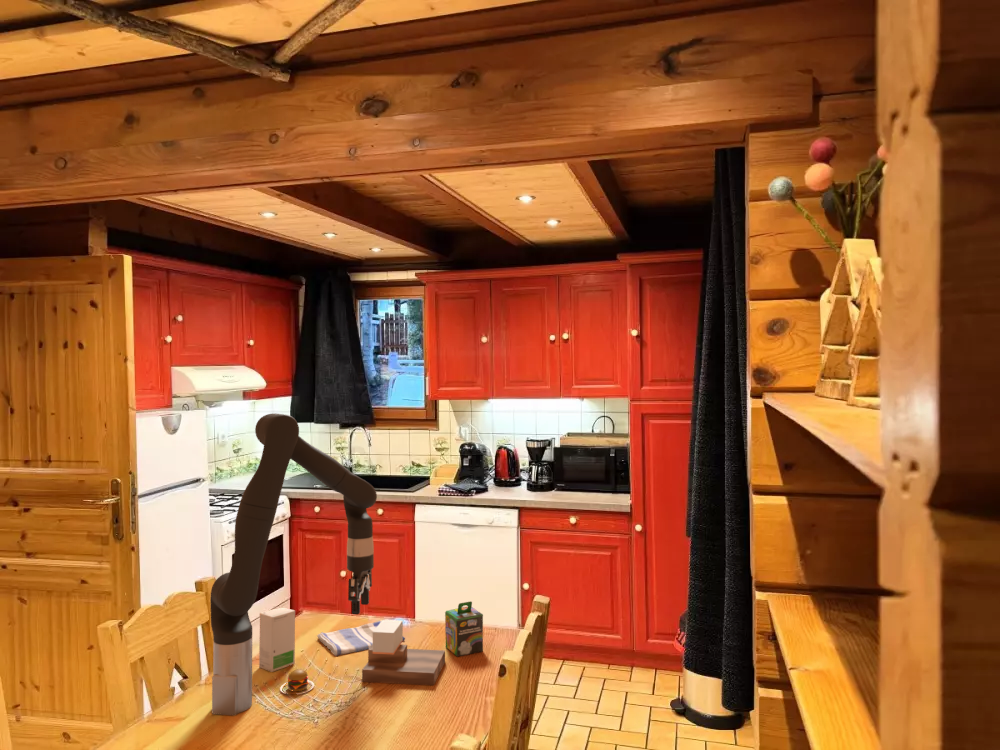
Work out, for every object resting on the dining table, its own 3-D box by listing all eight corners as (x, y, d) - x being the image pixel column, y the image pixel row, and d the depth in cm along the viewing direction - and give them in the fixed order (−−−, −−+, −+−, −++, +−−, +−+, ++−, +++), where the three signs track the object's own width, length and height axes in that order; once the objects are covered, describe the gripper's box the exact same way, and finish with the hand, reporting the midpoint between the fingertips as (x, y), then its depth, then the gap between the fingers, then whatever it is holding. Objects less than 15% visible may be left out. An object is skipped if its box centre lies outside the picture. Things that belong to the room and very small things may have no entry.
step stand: (433, 685, 188) (433, 660, 188) (362, 681, 190) (362, 657, 190) (445, 661, 204) (445, 639, 204) (378, 658, 206) (378, 636, 206)
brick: (393, 654, 192) (393, 632, 193) (372, 653, 193) (372, 632, 193) (402, 641, 202) (402, 620, 202) (382, 640, 203) (382, 619, 203)
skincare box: (271, 673, 196) (271, 617, 196) (257, 667, 200) (257, 613, 200) (296, 663, 203) (296, 610, 203) (282, 658, 207) (282, 605, 207)
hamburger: (269, 686, 189) (270, 666, 189) (314, 677, 194) (314, 658, 194) (278, 704, 178) (278, 683, 178) (325, 694, 184) (325, 674, 184)
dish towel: (315, 640, 222) (315, 631, 222) (384, 627, 235) (384, 618, 235) (333, 658, 208) (333, 649, 208) (405, 643, 220) (405, 634, 220)
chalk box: (471, 642, 220) (471, 595, 220) (484, 651, 212) (484, 603, 212) (444, 647, 215) (444, 599, 215) (456, 657, 207) (456, 607, 207)
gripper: (365, 559, 191) (365, 618, 191) (380, 546, 206) (380, 601, 205) (339, 558, 192) (339, 617, 192) (355, 546, 206) (355, 600, 206)
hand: (360, 609), depth 199 cm, fingers open, 8 cm apart
